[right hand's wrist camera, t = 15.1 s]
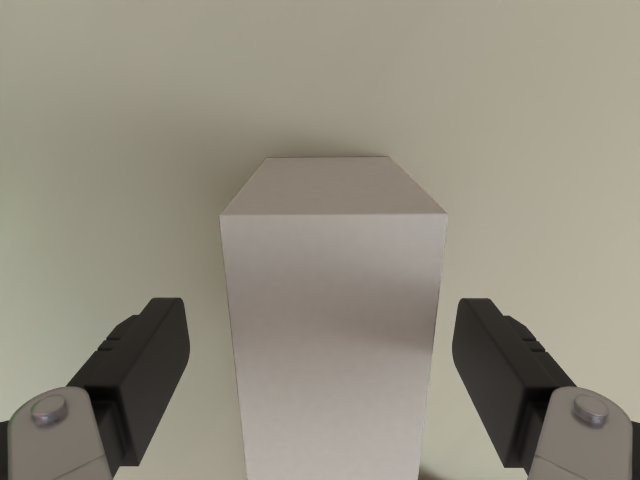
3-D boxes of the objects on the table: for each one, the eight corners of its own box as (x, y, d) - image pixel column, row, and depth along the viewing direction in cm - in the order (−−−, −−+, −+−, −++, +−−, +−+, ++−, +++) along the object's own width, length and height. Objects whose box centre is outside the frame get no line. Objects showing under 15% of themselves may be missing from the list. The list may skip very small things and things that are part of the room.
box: (265, 157, 19) (218, 215, 10) (389, 156, 19) (449, 213, 10) (286, 512, 28) (270, 704, 19) (370, 512, 28) (392, 704, 19)
